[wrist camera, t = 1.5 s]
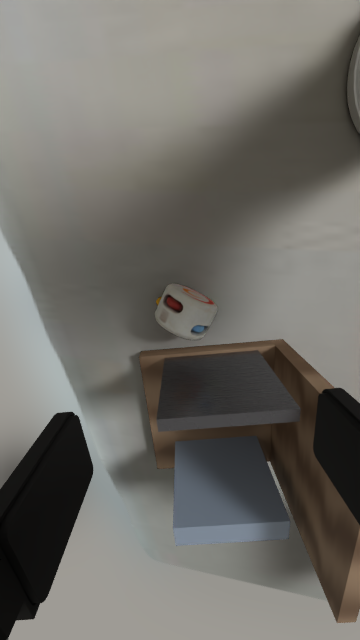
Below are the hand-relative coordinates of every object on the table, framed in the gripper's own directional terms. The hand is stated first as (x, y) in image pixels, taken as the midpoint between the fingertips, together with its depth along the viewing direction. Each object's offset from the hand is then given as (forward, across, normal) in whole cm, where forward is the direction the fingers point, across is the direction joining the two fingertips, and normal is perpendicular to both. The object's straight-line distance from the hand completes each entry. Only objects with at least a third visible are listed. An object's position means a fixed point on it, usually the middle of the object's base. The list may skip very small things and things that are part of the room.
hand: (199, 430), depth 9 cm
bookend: (+17, -2, +6) cm, 18 cm away
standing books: (+17, -2, +21) cm, 27 cm away
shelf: (+19, -2, +14) cm, 24 cm away
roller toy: (+19, 0, 0) cm, 19 cm away
